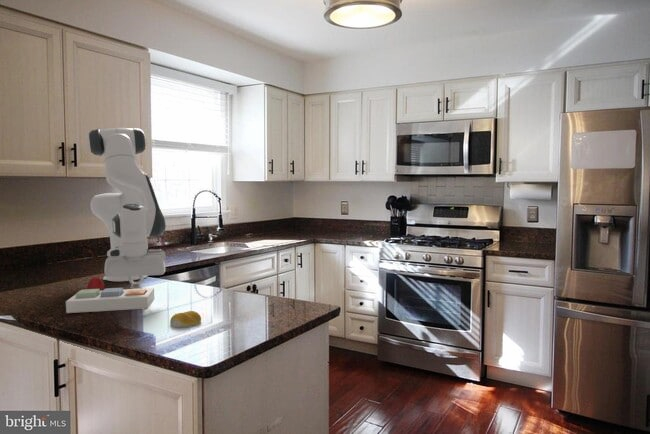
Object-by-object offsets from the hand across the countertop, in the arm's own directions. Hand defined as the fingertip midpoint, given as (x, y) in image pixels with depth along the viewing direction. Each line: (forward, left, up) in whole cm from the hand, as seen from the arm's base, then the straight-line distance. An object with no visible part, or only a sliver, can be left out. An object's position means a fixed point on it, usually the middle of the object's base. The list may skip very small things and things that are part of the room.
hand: (136, 287), depth 168 cm
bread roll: (+28, +20, -6) cm, 35 cm away
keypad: (0, -8, -6) cm, 10 cm away
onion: (-17, -18, -6) cm, 25 cm away
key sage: (0, -16, -3) cm, 16 cm away
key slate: (0, -8, -3) cm, 9 cm away
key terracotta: (0, 0, -4) cm, 4 cm away
